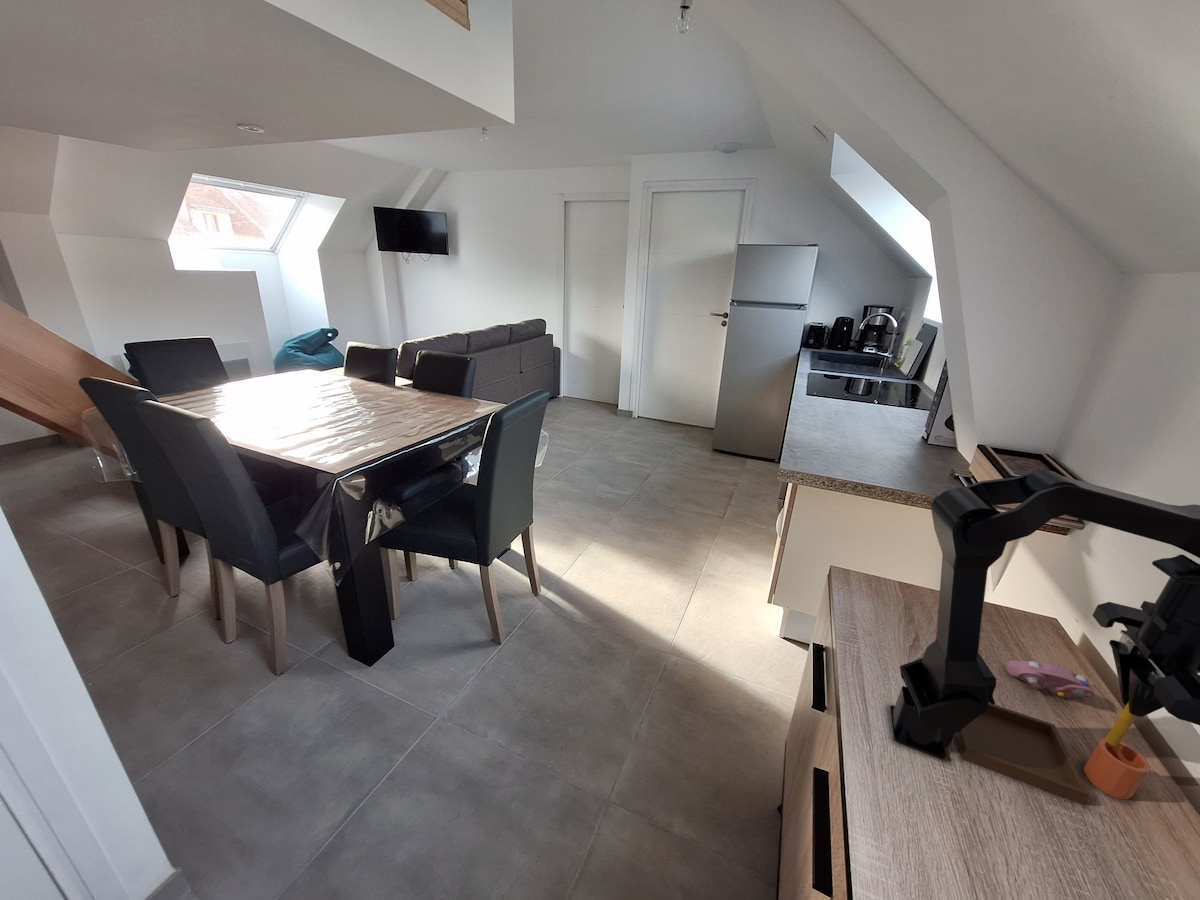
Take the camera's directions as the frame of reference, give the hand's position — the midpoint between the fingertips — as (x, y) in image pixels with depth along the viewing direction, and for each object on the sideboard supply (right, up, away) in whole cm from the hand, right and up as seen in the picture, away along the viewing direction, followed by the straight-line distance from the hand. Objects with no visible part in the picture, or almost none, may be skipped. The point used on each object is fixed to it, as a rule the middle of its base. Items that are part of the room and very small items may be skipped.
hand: (1131, 709), depth 59 cm
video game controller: (+6, -7, +18) cm, 21 cm away
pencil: (0, -6, +2) cm, 6 cm away
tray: (-9, -10, +8) cm, 16 cm away
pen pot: (+1, -12, +4) cm, 13 cm away
